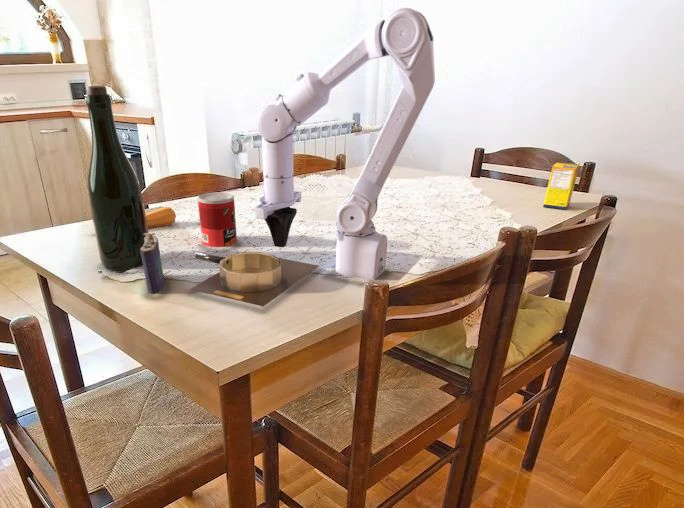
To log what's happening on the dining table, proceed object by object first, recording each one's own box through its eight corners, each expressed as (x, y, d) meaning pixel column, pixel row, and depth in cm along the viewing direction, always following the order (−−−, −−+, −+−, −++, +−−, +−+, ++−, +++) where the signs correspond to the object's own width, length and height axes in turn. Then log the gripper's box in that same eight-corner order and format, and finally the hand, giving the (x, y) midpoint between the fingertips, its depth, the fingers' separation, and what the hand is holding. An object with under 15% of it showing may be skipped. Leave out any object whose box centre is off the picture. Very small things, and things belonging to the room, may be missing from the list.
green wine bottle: (119, 277, 105) (83, 89, 87) (92, 265, 111) (53, 86, 93) (163, 263, 111) (138, 85, 94) (135, 252, 117) (106, 82, 100)
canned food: (231, 252, 117) (228, 201, 111) (197, 250, 118) (192, 199, 112) (241, 241, 123) (238, 192, 117) (208, 239, 125) (204, 191, 119)
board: (319, 270, 108) (319, 265, 107) (263, 311, 91) (262, 306, 91) (253, 257, 114) (253, 252, 114) (189, 293, 98) (188, 288, 97)
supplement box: (569, 205, 148) (580, 163, 142) (565, 210, 144) (577, 167, 138) (546, 202, 151) (556, 161, 145) (542, 207, 146) (552, 165, 140)
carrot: (175, 224, 137) (169, 206, 136) (179, 221, 133) (173, 203, 132) (98, 244, 130) (92, 225, 129) (100, 242, 126) (93, 223, 125)
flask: (151, 279, 104) (142, 225, 98) (166, 279, 104) (159, 224, 98) (147, 299, 96) (137, 241, 90) (163, 298, 96) (155, 240, 91)
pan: (292, 275, 102) (291, 258, 100) (260, 297, 94) (260, 278, 92) (213, 259, 110) (212, 243, 108) (178, 278, 102) (176, 260, 100)
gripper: (279, 166, 106) (280, 233, 114) (239, 181, 96) (244, 253, 103) (310, 169, 104) (310, 237, 111) (272, 185, 93) (275, 259, 100)
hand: (280, 245), depth 107 cm, fingers closed
